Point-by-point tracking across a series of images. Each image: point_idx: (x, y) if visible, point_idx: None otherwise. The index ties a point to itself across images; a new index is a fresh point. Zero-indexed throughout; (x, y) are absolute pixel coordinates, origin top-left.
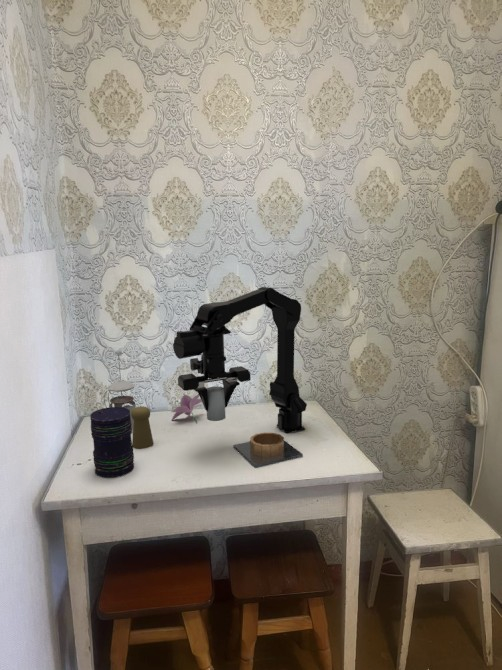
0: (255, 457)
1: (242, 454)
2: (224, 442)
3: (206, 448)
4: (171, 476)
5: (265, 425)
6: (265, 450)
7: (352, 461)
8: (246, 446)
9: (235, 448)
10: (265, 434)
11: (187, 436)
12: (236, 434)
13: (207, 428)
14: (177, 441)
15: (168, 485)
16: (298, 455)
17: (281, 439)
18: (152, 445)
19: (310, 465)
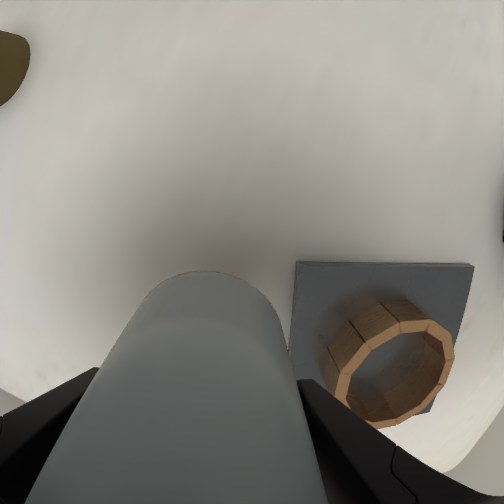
0: None
1: (289, 353)
2: (287, 186)
3: (185, 208)
4: (35, 354)
5: (490, 130)
6: None
7: (466, 439)
8: (338, 305)
9: (295, 286)
10: (427, 330)
11: (161, 41)
12: (373, 133)
13: (282, 2)
14: (102, 77)
15: (31, 389)
16: (417, 413)
17: (428, 397)
18: (18, 87)
19: (402, 444)
